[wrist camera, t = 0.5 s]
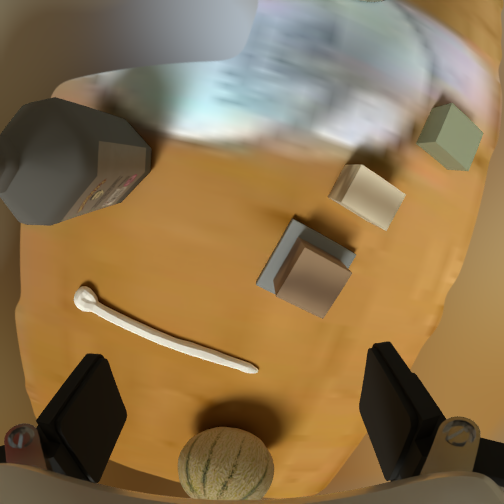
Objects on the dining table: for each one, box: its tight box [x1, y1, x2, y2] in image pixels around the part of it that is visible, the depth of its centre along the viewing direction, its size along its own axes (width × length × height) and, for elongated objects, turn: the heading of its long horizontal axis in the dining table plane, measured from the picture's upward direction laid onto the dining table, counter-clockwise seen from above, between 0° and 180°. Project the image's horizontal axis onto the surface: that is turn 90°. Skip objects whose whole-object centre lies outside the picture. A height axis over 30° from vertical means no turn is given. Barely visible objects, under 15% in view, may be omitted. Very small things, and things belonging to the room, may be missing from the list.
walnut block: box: [273, 237, 352, 319], centre depth 35 cm, size 6×6×5 cm
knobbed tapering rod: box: [74, 286, 258, 373], centre depth 40 cm, size 28×4×3 cm, turn 68°
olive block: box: [416, 103, 483, 171], centre depth 32 cm, size 6×6×5 cm
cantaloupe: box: [178, 427, 274, 500], centre depth 39 cm, size 15×15×15 cm
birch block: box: [328, 164, 405, 231], centre depth 33 cm, size 4×6×6 cm
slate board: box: [256, 218, 356, 294], centre depth 38 cm, size 9×9×1 cm
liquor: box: [0, 97, 151, 225], centre depth 20 cm, size 9×9×30 cm
